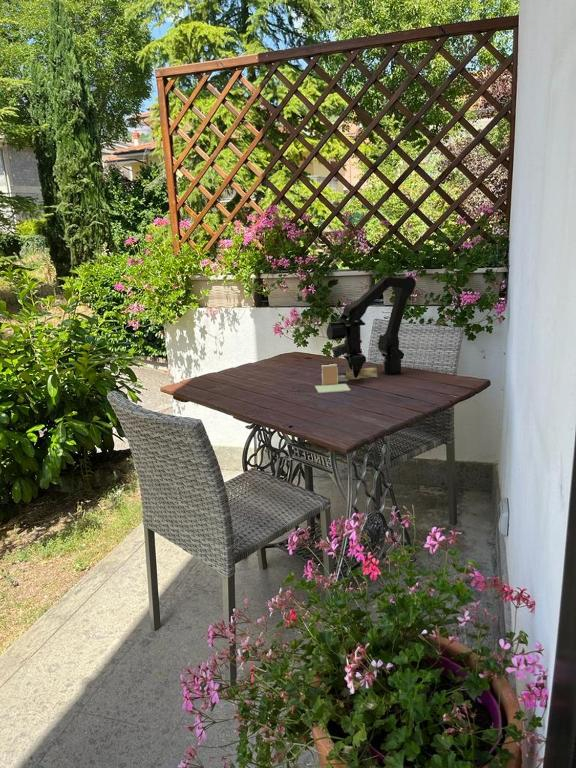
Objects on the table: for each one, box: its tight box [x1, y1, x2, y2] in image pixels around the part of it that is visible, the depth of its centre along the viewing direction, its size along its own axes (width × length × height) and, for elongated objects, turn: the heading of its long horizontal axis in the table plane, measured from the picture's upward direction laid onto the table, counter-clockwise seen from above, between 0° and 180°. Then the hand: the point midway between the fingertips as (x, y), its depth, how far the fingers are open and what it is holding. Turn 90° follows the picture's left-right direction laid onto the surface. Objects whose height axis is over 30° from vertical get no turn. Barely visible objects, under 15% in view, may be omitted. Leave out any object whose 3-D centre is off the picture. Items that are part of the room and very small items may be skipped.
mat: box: [314, 383, 351, 394], centre depth 213 cm, size 12×9×1 cm
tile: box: [321, 363, 339, 386], centre depth 217 cm, size 6×2×8 cm, turn 95°
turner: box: [338, 367, 378, 383], centre depth 226 cm, size 21×7×4 cm, turn 95°
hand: (354, 375), depth 226 cm, fingers open, 6 cm apart
